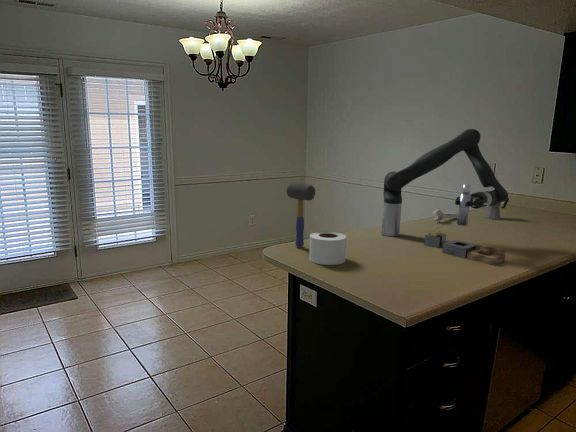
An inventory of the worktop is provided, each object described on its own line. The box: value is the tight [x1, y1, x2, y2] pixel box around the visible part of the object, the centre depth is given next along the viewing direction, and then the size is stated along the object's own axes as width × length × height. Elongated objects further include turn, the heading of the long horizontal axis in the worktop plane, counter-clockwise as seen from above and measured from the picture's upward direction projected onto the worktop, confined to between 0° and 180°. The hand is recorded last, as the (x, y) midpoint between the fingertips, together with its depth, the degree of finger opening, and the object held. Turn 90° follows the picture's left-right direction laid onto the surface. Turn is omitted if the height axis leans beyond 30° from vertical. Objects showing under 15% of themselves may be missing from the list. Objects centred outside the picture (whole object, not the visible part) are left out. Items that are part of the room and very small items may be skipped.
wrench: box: [432, 208, 458, 223], centre depth 270 cm, size 8×2×30 cm
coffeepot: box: [484, 197, 510, 221], centre depth 278 cm, size 15×9×18 cm, turn 37°
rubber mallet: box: [286, 182, 316, 248], centre depth 202 cm, size 12×8×30 cm, turn 50°
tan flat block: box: [430, 225, 447, 237], centre depth 215 cm, size 12×3×8 cm, turn 140°
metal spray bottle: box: [456, 184, 472, 227], centre depth 195 cm, size 4×4×18 cm
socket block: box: [441, 239, 478, 259], centre depth 199 cm, size 11×11×4 cm
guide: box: [424, 232, 447, 249], centre depth 213 cm, size 9×7×5 cm
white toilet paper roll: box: [309, 231, 348, 266], centre depth 185 cm, size 16×15×11 cm
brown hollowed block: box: [466, 243, 507, 266], centre depth 190 cm, size 12×10×5 cm
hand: (461, 203), depth 193 cm, fingers closed on metal spray bottle, 4 cm apart
